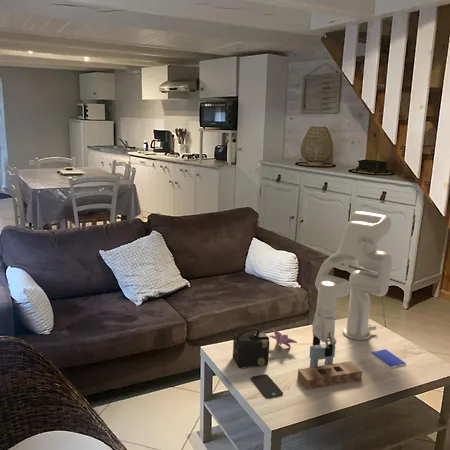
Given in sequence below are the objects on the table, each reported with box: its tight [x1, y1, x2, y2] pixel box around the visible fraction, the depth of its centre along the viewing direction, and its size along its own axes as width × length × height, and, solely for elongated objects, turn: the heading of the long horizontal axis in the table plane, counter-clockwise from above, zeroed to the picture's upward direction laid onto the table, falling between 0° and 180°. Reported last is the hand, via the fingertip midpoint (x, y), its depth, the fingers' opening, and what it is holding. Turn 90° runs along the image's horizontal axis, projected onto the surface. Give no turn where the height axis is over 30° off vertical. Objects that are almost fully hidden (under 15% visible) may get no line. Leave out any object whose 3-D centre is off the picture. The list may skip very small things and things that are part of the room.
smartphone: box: [250, 373, 284, 400], centre depth 182 cm, size 8×1×15 cm
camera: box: [232, 326, 270, 369], centre depth 197 cm, size 11×14×15 cm
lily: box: [268, 329, 298, 354], centre depth 209 cm, size 12×12×10 cm
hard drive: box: [371, 348, 407, 369], centre depth 204 cm, size 2×8×12 cm
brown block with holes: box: [297, 360, 363, 390], centre depth 187 cm, size 24×8×4 cm, turn 109°
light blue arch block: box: [309, 342, 336, 367], centre depth 196 cm, size 10×3×9 cm, turn 109°
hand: (322, 350), depth 195 cm, fingers open, 9 cm apart
